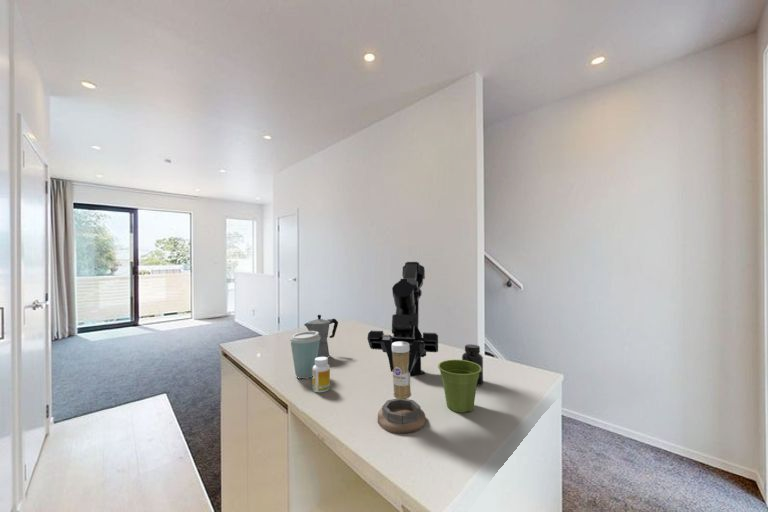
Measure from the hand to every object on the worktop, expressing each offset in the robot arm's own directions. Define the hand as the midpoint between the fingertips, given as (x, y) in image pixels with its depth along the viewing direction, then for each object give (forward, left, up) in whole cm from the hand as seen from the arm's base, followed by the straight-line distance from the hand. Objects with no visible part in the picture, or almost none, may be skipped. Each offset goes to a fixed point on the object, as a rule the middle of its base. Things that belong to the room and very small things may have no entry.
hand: (400, 371), depth 76 cm
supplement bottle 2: (-14, +34, -13) cm, 39 cm away
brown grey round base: (-1, +1, -13) cm, 13 cm away
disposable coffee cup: (-42, -17, -13) cm, 47 cm away
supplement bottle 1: (-28, -14, -13) cm, 34 cm away
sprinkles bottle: (-1, +1, -7) cm, 7 cm away
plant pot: (-1, +19, -13) cm, 23 cm away
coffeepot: (-62, -8, -13) cm, 63 cm away
